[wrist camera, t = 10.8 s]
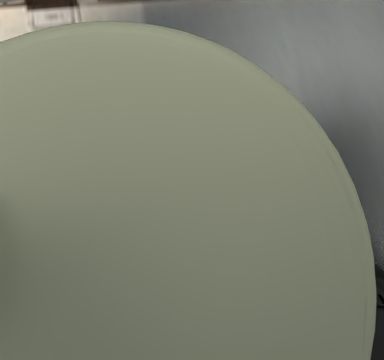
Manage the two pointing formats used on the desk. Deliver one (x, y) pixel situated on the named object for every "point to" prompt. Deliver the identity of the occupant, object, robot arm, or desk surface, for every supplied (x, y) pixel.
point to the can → (171, 206)
